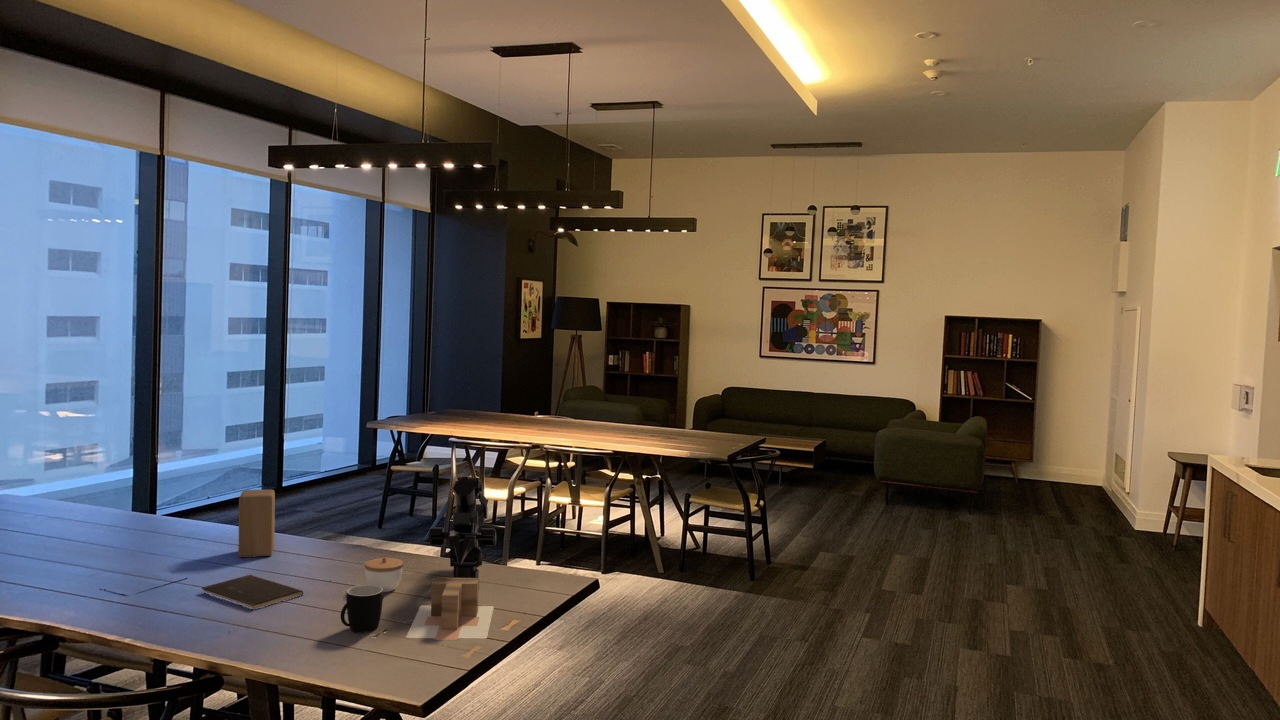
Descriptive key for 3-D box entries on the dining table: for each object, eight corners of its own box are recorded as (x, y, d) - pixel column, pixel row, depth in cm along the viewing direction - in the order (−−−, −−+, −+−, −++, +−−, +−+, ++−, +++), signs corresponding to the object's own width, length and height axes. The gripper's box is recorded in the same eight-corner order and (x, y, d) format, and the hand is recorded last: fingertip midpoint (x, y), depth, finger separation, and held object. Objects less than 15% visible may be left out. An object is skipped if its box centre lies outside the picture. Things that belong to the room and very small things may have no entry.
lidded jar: (356, 590, 268) (356, 558, 267) (382, 581, 277) (383, 550, 276) (384, 597, 263) (385, 564, 262) (410, 587, 272) (411, 556, 272)
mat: (486, 641, 233) (486, 640, 233) (404, 640, 231) (404, 639, 231) (494, 607, 258) (494, 606, 258) (420, 606, 256) (420, 605, 256)
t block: (472, 630, 239) (473, 595, 238) (425, 629, 238) (426, 595, 238) (478, 610, 254) (479, 578, 253) (433, 609, 253) (434, 577, 252)
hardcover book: (253, 613, 248) (253, 604, 248) (201, 595, 260) (201, 587, 260) (303, 597, 262) (303, 589, 261) (251, 581, 274) (251, 574, 274)
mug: (365, 620, 244) (365, 582, 244) (389, 627, 240) (390, 589, 239) (328, 633, 234) (329, 594, 233) (353, 641, 229) (354, 601, 229)
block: (241, 550, 303) (242, 489, 302) (274, 548, 306) (275, 488, 305) (238, 558, 294) (238, 496, 293) (272, 557, 297) (272, 495, 296)
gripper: (429, 499, 263) (423, 548, 253) (496, 500, 265) (492, 549, 254) (433, 519, 271) (426, 568, 261) (497, 521, 273) (494, 569, 263)
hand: (459, 563), depth 260 cm, fingers closed
